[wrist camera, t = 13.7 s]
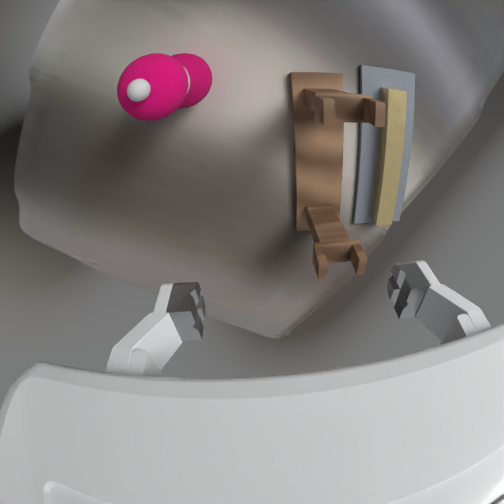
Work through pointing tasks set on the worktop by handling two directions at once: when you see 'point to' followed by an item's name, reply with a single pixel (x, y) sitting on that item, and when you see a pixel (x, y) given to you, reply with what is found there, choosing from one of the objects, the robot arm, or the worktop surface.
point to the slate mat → (369, 139)
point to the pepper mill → (163, 84)
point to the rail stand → (326, 162)
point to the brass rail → (389, 156)
